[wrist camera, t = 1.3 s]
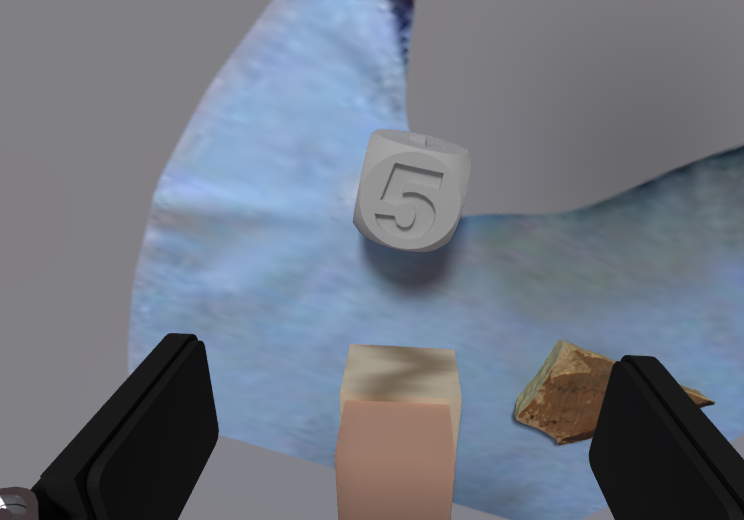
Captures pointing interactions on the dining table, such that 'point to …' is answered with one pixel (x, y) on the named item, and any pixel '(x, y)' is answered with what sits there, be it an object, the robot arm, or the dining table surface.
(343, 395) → the tower base
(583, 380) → the shard
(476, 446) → the dining table surface
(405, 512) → the tower top
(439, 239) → the die
